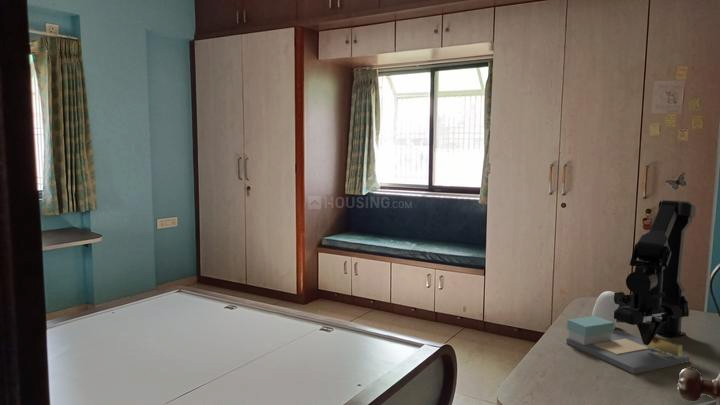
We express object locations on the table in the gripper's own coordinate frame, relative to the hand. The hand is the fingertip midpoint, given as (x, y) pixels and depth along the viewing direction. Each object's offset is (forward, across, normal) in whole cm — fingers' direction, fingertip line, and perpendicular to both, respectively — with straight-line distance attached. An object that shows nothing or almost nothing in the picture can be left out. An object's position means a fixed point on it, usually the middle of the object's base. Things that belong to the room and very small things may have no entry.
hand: (646, 344), depth 135 cm
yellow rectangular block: (+2, -2, +3) cm, 4 cm away
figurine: (+3, -8, -20) cm, 22 cm away
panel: (+3, +3, -4) cm, 6 cm away
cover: (-1, +8, -12) cm, 14 cm away
